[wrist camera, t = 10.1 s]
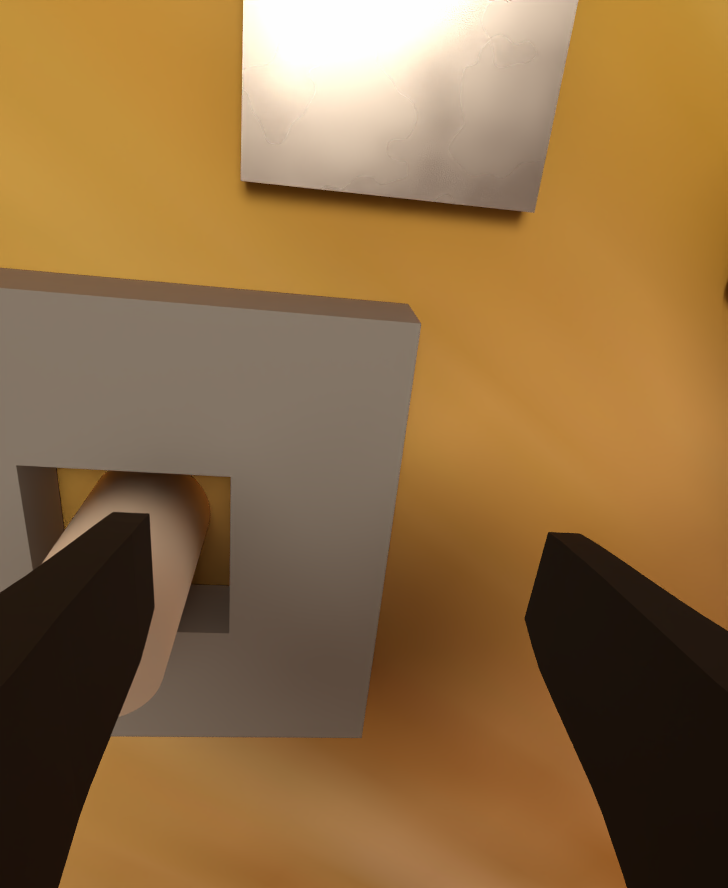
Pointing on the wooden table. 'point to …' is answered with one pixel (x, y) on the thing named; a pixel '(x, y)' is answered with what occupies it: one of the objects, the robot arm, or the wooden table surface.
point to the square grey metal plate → (403, 96)
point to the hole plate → (223, 474)
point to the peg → (153, 554)
